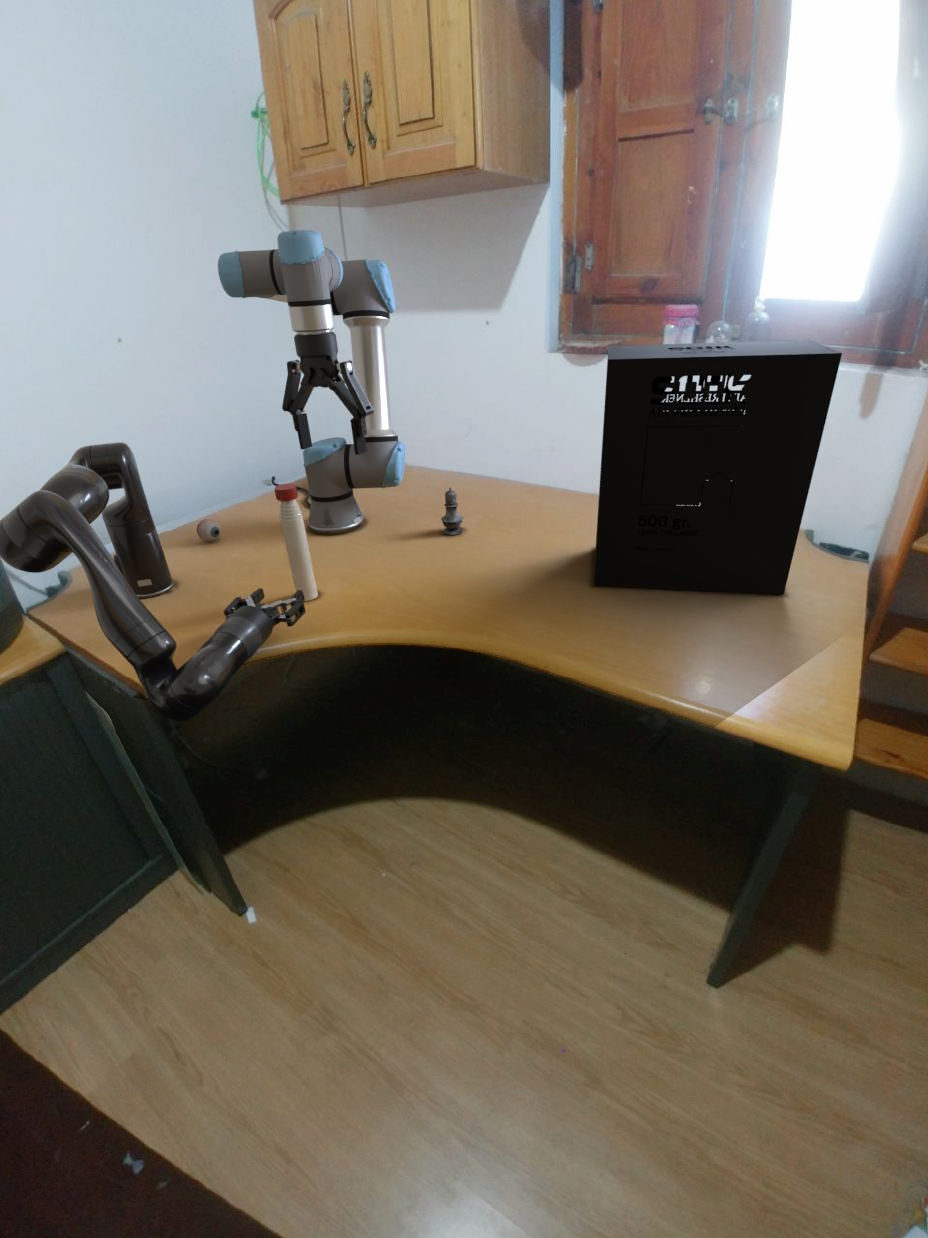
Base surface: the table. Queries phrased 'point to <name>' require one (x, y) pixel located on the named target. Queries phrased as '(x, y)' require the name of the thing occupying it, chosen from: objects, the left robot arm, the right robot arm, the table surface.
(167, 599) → the table surface
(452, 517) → the salt shaker
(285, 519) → the bottle
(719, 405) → the cardboard box
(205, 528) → the eyeball
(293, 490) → the cap
